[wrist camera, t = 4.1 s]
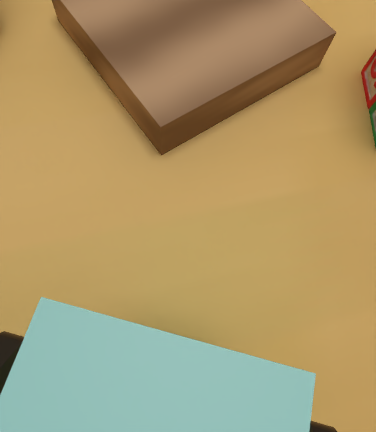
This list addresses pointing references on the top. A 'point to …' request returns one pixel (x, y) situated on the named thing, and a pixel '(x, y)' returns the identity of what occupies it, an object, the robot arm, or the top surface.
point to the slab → (194, 56)
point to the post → (143, 381)
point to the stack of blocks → (370, 89)
